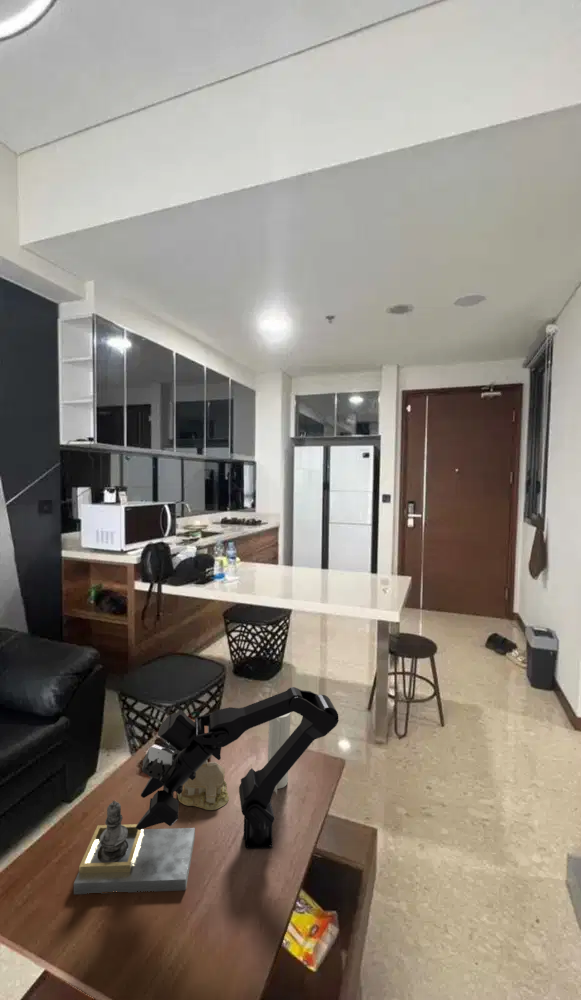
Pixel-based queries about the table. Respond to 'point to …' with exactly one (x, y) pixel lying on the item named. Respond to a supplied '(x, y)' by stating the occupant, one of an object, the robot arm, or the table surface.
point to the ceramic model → (206, 788)
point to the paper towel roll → (278, 741)
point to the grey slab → (138, 862)
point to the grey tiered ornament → (113, 834)
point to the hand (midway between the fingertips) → (139, 811)
